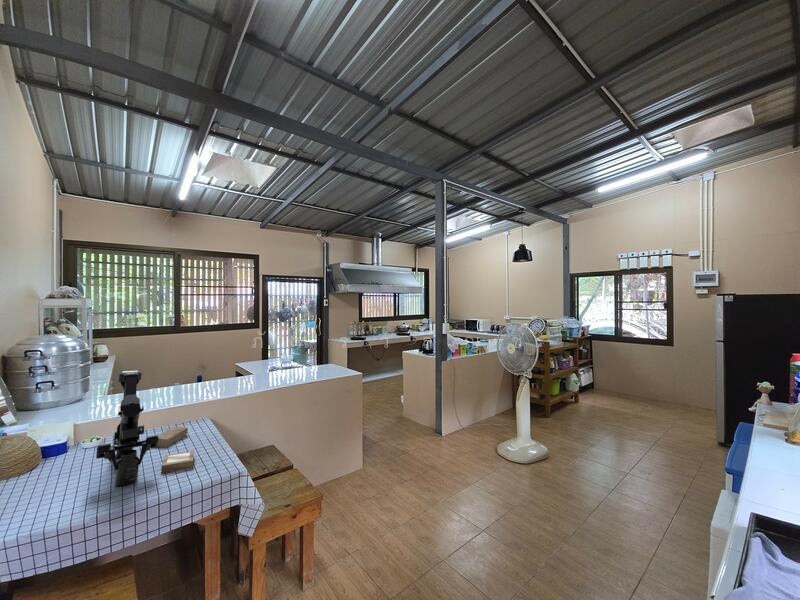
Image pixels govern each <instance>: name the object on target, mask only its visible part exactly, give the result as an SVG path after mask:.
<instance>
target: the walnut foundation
mask: <svg viewBox="0 0 800 600" xmlns="http://www.w3.org/2000/svg"><path fill="white" fill-rule="evenodd" d="M194 459H195V450H191V451H190V450H189V451H183V452H179V453H173V454H171V453H170V454H166V455H164V457H163V460H162V463H161V466H160V467H161V469H160V470H161V471H160V474H163V473H169V472H175V471H181V470H186V469H192V468H193V467H194Z"/></svg>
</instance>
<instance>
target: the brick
mask: <svg viewBox="0 0 800 600" xmlns="http://www.w3.org/2000/svg"><path fill="white" fill-rule="evenodd" d="M188 431H189V429H188V427H186V426H172V427H170V428H168V429H167V430H165V431H164V432H161V433H158V434H156V435H157V436H158V444H157V447H156V448H166V447H169V446H170V445H172V444H173V443H174V444H175V443H176V442H178V441H179V440H181V439H183V438H184V437H185V436H187V434H188Z"/></svg>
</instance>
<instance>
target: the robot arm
mask: <svg viewBox="0 0 800 600" xmlns="http://www.w3.org/2000/svg"><path fill="white" fill-rule="evenodd" d="M142 374H143V373H142V372H140V371H139V370H125V371H124V370H123V371H122V372H121V373H119V374H118V382H119V386H120V388H121V389H122V390H123V397H122V400H121V401H120V406H118V408H117V409H118V411H117V416H119V417H120V419H121V420H120V423H119V424H118V425H117V427H116V431H114V435H113V445H112V443H111V442H110V443H109V442H108V443H104V444H99V445H98V446H96V454H95V455H96V456H95V459H103V458H104V460H108V461H109V462H110V464H111V466H112V468H113V470H114V471H116V467H117V459H119V460H120V457H121V453H122V452H124V451H127V450H134V448H138V447H141V450H140V454H139V466H140V465H142V462H143V460H144V456H145V455H146V453H147V451H150V450H151V449H153V448H158V447H157V444H158V436H157V435H158V434H156V435H149V436H146V437H145V439H144V440H140V435H144V434H145V425H139V420H140V415H141V413H143V412H144V410H145V409H144V408H145V407H144V406H143V404H142V403H140V402H141V400H140V398H139V397H138V396H137V387H138V385H139V383H140V381H142V376H143V375H142Z"/></svg>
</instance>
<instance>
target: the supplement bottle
mask: <svg viewBox="0 0 800 600" xmlns="http://www.w3.org/2000/svg"><path fill="white" fill-rule="evenodd" d="M137 452H138V450H136V449H133V450H127V451H124V452H122V453H121V457H120V458H119V460H118V461H116V464H117V467H116V470H115V479H114V486H115V487H117V488H124V487H129V486H131V485H134V484H135V483H136V482H138V479H139V478H138V477H139V467H140V465H139V459H140V457H138V456H137V455H138V453H137Z"/></svg>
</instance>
